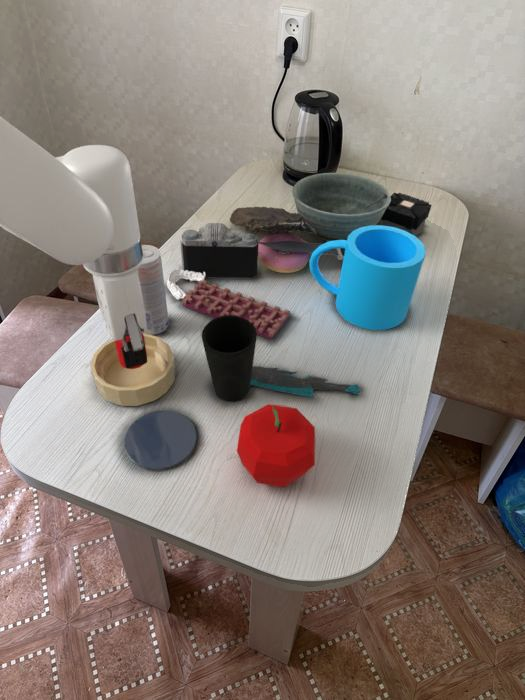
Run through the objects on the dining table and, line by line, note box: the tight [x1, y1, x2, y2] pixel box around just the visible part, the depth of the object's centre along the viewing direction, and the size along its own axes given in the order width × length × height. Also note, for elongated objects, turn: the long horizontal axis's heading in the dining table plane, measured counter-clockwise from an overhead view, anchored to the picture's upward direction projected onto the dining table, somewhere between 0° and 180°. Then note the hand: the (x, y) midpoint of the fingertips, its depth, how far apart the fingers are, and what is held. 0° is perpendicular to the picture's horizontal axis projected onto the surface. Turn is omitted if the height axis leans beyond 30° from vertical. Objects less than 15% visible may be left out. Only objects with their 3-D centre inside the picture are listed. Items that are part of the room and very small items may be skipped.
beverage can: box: [137, 244, 170, 336], centre depth 83 cm, size 6×6×15 cm
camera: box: [179, 222, 259, 280], centre depth 98 cm, size 15×7×10 cm, turn 92°
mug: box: [308, 224, 426, 331], centre depth 91 cm, size 20×13×13 cm
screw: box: [364, 194, 388, 209], centre depth 103 cm, size 8×1×1 cm, turn 137°
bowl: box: [291, 172, 391, 242], centre depth 110 cm, size 21×21×10 cm
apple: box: [236, 400, 316, 488], centre depth 66 cm, size 11×11×10 cm
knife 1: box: [258, 241, 345, 261], centre depth 101 cm, size 30×2×5 cm
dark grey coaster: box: [123, 409, 197, 471], centre depth 71 cm, size 10×10×1 cm
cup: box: [201, 315, 258, 403], centre depth 74 cm, size 8×8×12 cm
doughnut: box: [258, 231, 311, 274], centre depth 103 cm, size 11×11×4 cm
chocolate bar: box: [182, 279, 291, 341], centre depth 92 cm, size 7×19×2 cm, turn 62°
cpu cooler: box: [378, 192, 432, 237], centre depth 115 cm, size 10×6×10 cm
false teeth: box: [166, 267, 206, 300], centre depth 96 cm, size 8×6×2 cm
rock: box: [229, 206, 316, 235], centre depth 104 cm, size 25×4×15 cm
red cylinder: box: [115, 332, 147, 369], centre depth 75 cm, size 4×4×6 cm
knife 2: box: [250, 365, 362, 399], centre depth 80 cm, size 24×1×5 cm
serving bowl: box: [90, 333, 176, 407], centre depth 78 cm, size 12×12×4 cm
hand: (131, 353), depth 76 cm, fingers closed on red cylinder, 4 cm apart
